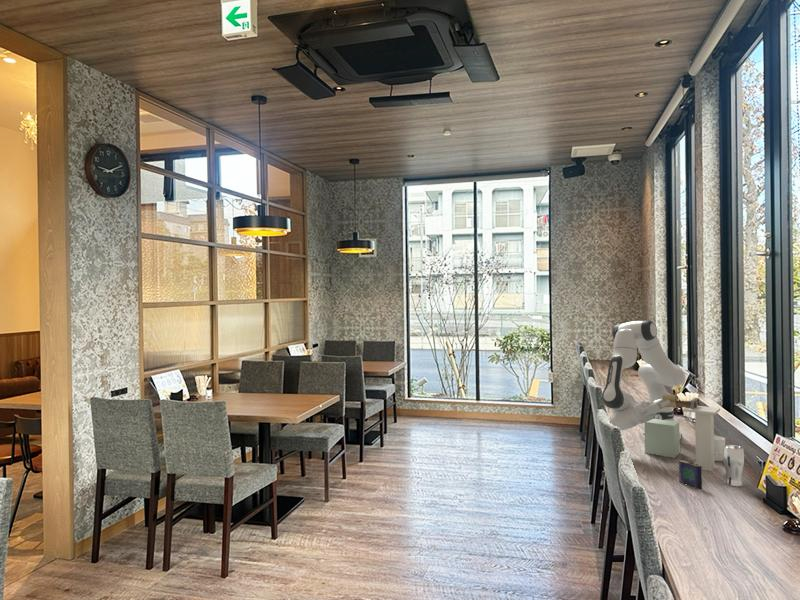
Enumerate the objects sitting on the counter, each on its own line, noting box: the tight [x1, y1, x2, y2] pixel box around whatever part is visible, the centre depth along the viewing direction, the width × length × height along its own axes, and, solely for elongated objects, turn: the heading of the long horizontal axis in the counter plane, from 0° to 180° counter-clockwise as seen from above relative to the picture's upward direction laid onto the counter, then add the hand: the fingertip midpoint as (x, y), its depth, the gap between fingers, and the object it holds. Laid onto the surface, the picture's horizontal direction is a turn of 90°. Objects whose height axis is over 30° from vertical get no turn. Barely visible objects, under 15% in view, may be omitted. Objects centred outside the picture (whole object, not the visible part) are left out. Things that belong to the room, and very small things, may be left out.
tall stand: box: [683, 397, 721, 472], centre depth 231 cm, size 12×12×30 cm
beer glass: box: [723, 444, 745, 488], centre depth 209 cm, size 7×7×15 cm
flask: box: [678, 458, 703, 490], centre depth 209 cm, size 9×3×11 cm, turn 26°
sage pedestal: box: [644, 419, 681, 459], centre depth 253 cm, size 10×13×15 cm
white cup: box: [714, 435, 726, 462], centre depth 243 cm, size 8×8×10 cm
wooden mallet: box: [662, 393, 698, 408], centre depth 236 cm, size 5×13×5 cm, turn 50°
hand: (672, 399), depth 238 cm, fingers open, 7 cm apart
